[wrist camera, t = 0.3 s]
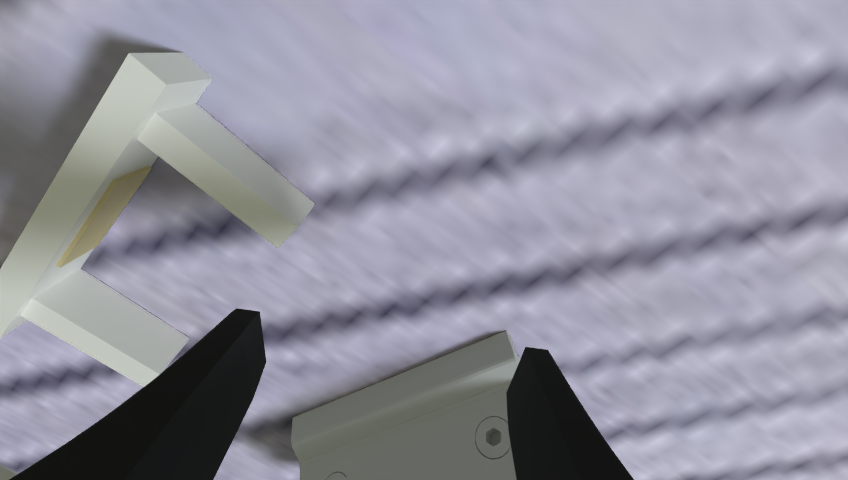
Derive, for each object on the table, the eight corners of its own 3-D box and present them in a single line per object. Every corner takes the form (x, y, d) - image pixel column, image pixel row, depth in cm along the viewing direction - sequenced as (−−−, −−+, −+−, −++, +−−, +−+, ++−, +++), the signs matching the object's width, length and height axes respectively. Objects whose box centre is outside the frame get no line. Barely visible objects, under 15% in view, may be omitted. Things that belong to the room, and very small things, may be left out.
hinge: (512, 327, 24) (586, 529, 16) (534, 359, 27) (604, 541, 20) (287, 419, 27) (267, 616, 20) (330, 437, 30) (326, 614, 23)
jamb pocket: (165, 364, 25) (127, 409, 22) (33, 283, 23) (-31, 321, 20) (333, 184, 20) (315, 209, 17) (183, 52, 17) (129, 53, 14)
